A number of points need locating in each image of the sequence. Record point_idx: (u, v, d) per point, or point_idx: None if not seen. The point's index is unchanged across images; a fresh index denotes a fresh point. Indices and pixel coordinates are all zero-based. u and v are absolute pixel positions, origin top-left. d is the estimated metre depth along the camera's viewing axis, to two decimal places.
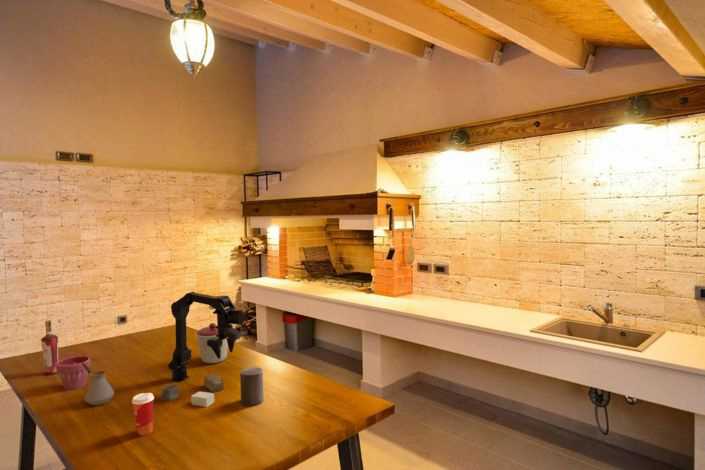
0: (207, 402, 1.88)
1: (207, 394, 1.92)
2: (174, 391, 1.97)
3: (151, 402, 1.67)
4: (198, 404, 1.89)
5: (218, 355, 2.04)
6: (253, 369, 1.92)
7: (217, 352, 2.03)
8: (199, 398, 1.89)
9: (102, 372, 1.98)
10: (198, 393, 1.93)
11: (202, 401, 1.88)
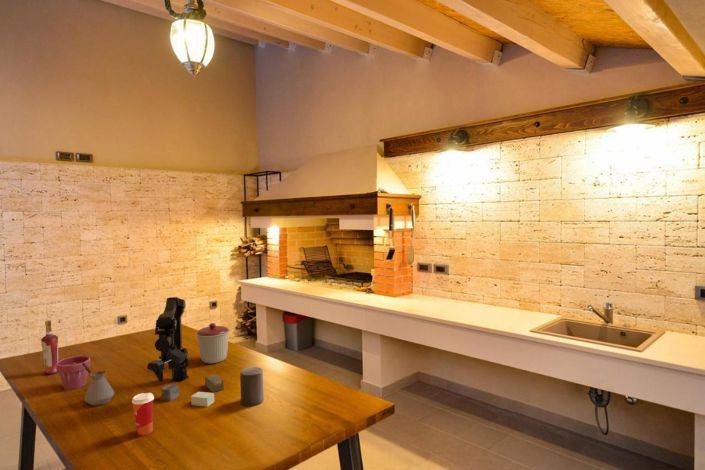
0: (208, 401, 1.89)
1: (207, 394, 1.92)
2: (174, 391, 1.97)
3: (151, 402, 1.67)
4: (198, 404, 1.89)
5: (160, 379, 1.92)
6: (253, 369, 1.92)
7: (159, 375, 1.92)
8: (199, 398, 1.89)
9: (102, 372, 1.98)
10: (198, 393, 1.93)
11: (203, 401, 1.88)
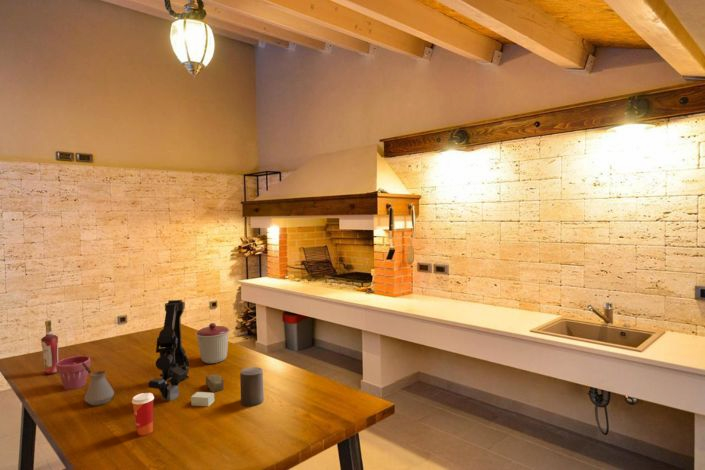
0: (209, 401, 1.89)
1: (207, 394, 1.92)
2: (174, 391, 1.97)
3: (151, 402, 1.67)
4: (199, 404, 1.89)
5: (164, 395, 1.95)
6: (253, 369, 1.92)
7: (163, 392, 1.94)
8: (200, 398, 1.89)
9: (102, 372, 1.98)
10: (197, 393, 1.92)
11: (204, 401, 1.89)
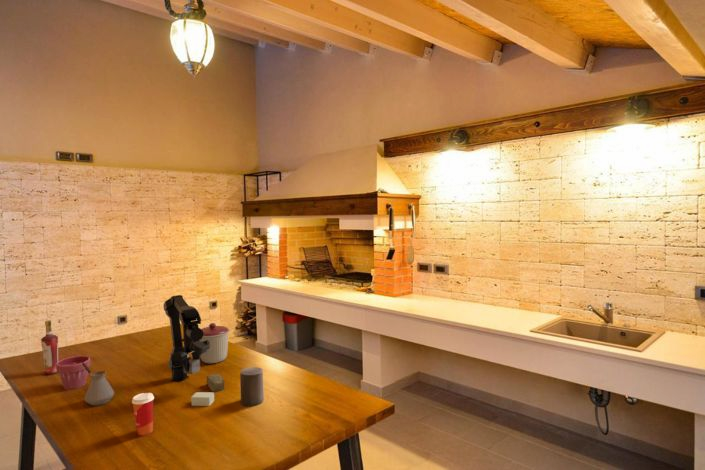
0: (210, 401, 1.89)
1: (207, 393, 1.92)
2: (196, 365, 2.01)
3: (151, 402, 1.67)
4: (199, 404, 1.89)
5: (186, 368, 1.99)
6: (253, 369, 1.92)
7: (185, 365, 1.98)
8: (201, 398, 1.89)
9: (102, 372, 1.98)
10: (197, 394, 1.92)
11: (205, 401, 1.89)
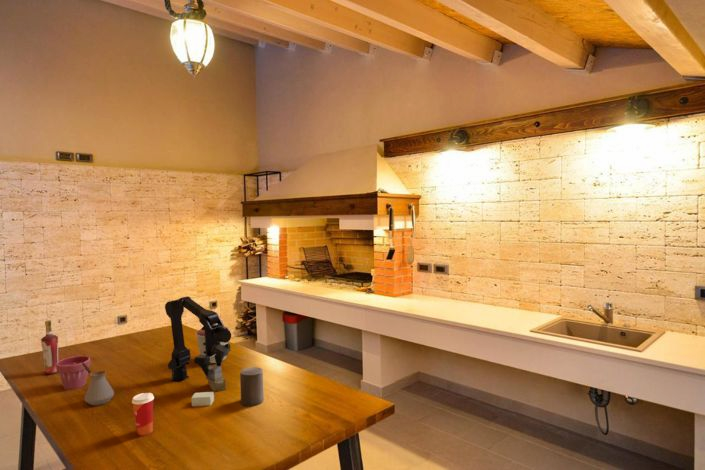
0: (210, 400, 1.90)
1: (207, 393, 1.92)
2: (218, 371, 2.06)
3: (151, 402, 1.67)
4: (200, 404, 1.89)
5: (206, 372, 2.02)
6: (253, 369, 1.92)
7: (205, 369, 2.02)
8: (201, 398, 1.89)
9: (102, 372, 1.98)
10: (196, 394, 1.92)
11: (205, 401, 1.89)
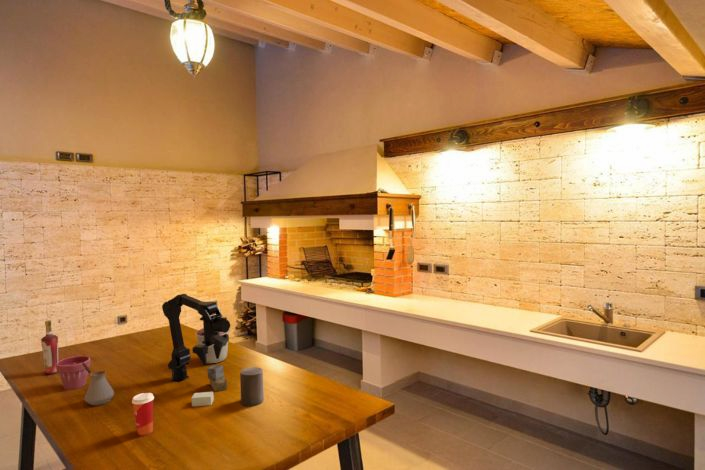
0: (211, 400, 1.90)
1: (207, 393, 1.92)
2: (219, 371, 2.07)
3: (151, 402, 1.67)
4: (200, 404, 1.89)
5: (204, 362, 2.04)
6: (253, 369, 1.92)
7: (203, 359, 2.03)
8: (202, 398, 1.89)
9: (102, 372, 1.98)
10: (196, 394, 1.92)
11: (206, 401, 1.89)
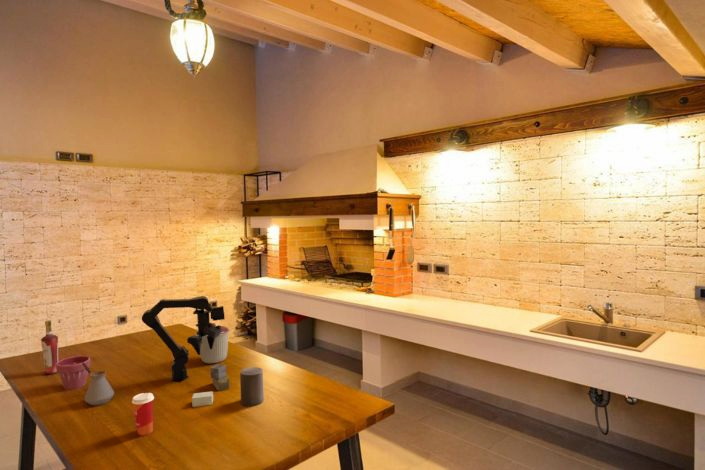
0: (211, 399, 1.90)
1: (207, 393, 1.93)
2: (222, 370, 2.08)
3: (151, 402, 1.67)
4: (201, 404, 1.89)
5: (198, 351, 2.18)
6: (253, 369, 1.92)
7: (197, 349, 2.17)
8: (202, 398, 1.89)
9: (102, 372, 1.98)
10: (196, 394, 1.91)
11: (207, 400, 1.89)
